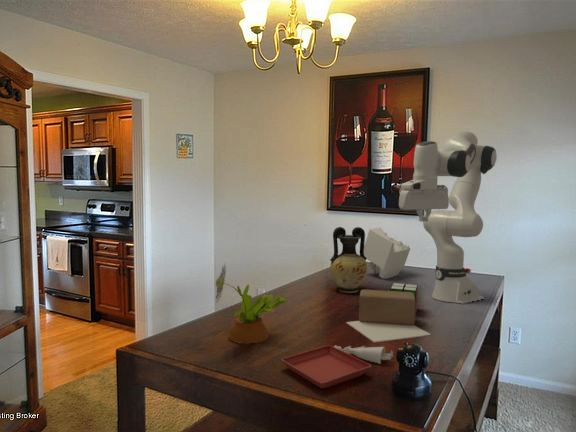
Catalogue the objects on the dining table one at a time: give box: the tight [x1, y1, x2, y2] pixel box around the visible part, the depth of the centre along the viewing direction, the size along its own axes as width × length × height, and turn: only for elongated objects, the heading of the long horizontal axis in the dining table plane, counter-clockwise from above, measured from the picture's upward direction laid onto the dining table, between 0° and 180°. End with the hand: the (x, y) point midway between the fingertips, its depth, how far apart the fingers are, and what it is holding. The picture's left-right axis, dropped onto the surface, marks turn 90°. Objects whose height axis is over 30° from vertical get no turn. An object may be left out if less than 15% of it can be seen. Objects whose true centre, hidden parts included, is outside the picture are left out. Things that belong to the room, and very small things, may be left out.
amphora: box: [329, 226, 368, 294], centre depth 211 cm, size 18×17×30 cm
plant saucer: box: [281, 344, 372, 389], centre depth 125 cm, size 18×18×3 cm
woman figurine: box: [333, 345, 394, 365], centre depth 135 cm, size 12×4×18 cm
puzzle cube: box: [389, 282, 419, 316], centre depth 182 cm, size 10×10×10 cm
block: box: [358, 289, 416, 325], centre depth 169 cm, size 10×10×20 cm
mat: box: [346, 320, 432, 344], centre depth 160 cm, size 22×20×1 cm
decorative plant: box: [215, 262, 289, 344], centre depth 149 cm, size 27×24×25 cm
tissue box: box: [364, 227, 411, 280], centre depth 243 cm, size 20×16×25 cm
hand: (423, 221), depth 172 cm, fingers closed
